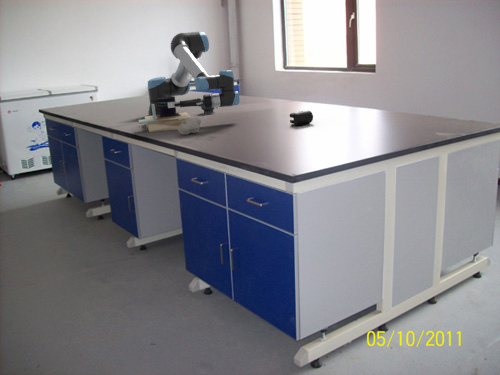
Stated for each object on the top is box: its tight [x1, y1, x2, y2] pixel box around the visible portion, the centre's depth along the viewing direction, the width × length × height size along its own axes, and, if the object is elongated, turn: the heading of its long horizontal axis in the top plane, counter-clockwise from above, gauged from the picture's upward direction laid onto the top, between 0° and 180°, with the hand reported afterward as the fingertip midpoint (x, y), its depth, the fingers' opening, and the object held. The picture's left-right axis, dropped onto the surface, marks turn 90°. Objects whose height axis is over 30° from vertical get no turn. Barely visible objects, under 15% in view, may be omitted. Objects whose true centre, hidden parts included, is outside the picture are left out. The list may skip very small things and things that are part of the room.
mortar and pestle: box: [200, 92, 216, 115], centre depth 322 cm, size 11×9×12 cm
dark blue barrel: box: [158, 96, 178, 118], centre depth 290 cm, size 10×10×15 cm
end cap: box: [289, 110, 314, 127], centre depth 258 cm, size 10×7×7 cm
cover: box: [138, 104, 157, 125], centre depth 271 cm, size 9×9×9 cm
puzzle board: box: [144, 111, 193, 133], centre depth 284 cm, size 30×24×5 cm
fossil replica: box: [177, 117, 202, 136], centre depth 256 cm, size 12×8×10 cm
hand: (168, 105), depth 273 cm, fingers closed
